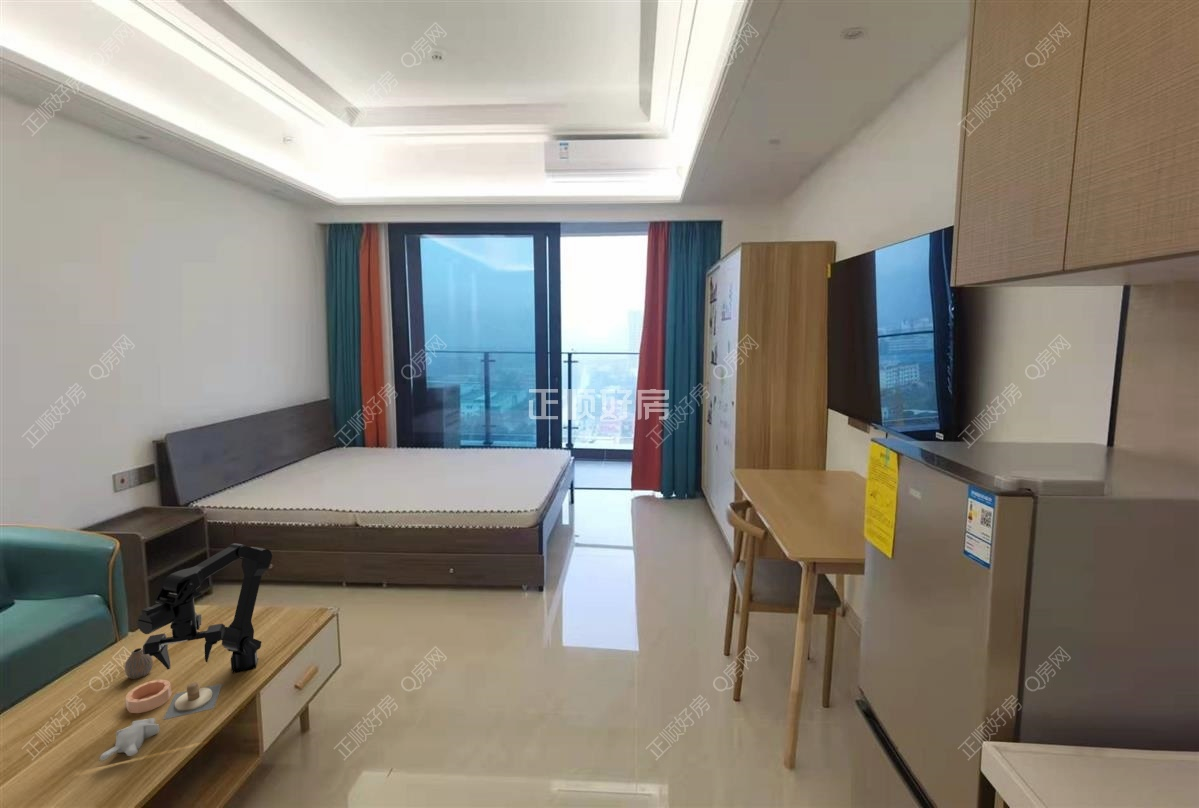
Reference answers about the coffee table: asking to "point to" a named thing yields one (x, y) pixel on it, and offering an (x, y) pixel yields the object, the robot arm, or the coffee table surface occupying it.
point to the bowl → (148, 696)
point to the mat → (209, 705)
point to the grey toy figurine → (132, 737)
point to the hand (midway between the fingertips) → (188, 664)
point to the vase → (138, 664)
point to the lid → (193, 698)
